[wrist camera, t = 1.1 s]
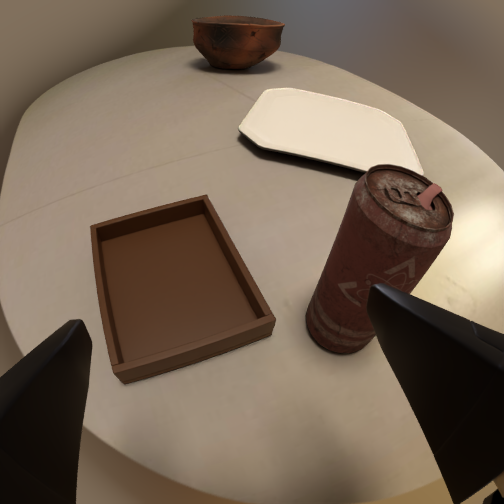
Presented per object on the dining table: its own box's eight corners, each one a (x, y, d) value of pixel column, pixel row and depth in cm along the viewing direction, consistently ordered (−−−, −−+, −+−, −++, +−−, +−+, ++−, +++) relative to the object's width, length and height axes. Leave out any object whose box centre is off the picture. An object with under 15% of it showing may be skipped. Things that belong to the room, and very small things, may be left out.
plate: (267, 92, 60) (268, 83, 58) (396, 123, 57) (398, 115, 55) (228, 153, 41) (228, 139, 39) (425, 201, 38) (431, 189, 36)
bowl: (245, 82, 64) (250, 24, 53) (172, 68, 72) (172, 20, 61) (293, 68, 78) (299, 23, 67) (227, 54, 86) (230, 14, 75)
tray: (271, 335, 24) (276, 319, 22) (124, 384, 20) (113, 373, 18) (207, 213, 32) (206, 194, 31) (97, 243, 28) (90, 225, 27)
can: (386, 328, 25) (473, 209, 14) (336, 369, 22) (430, 250, 11) (342, 281, 28) (399, 151, 17) (290, 314, 25) (336, 171, 15)
